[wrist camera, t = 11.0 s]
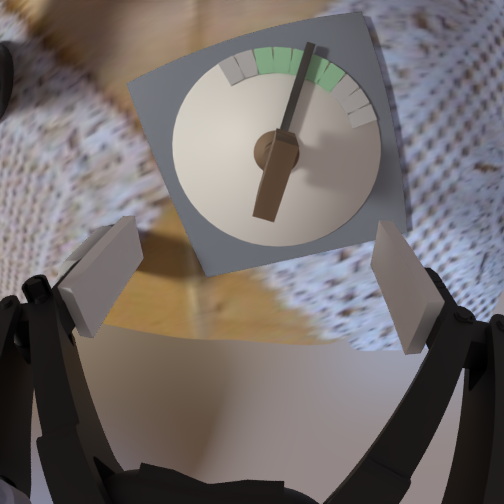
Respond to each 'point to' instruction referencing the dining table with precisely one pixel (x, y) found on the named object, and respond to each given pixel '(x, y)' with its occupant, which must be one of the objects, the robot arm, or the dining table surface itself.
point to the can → (82, 250)
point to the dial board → (268, 119)
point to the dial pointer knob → (279, 151)
